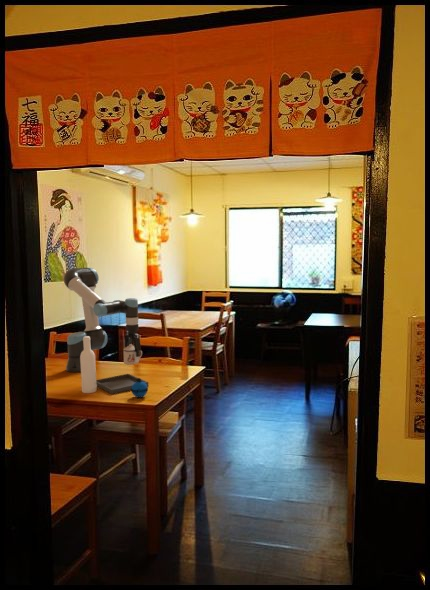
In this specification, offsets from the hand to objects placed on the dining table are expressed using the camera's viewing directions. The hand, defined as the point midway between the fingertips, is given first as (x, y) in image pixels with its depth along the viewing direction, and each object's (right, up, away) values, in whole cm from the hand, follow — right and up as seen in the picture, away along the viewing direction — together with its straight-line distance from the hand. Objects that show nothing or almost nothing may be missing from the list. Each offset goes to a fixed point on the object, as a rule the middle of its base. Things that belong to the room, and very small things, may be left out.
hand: (133, 360), depth 306 cm
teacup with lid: (0, -2, 0) cm, 2 cm away
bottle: (-18, -13, -34) cm, 40 cm away
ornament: (+11, -13, -46) cm, 49 cm away
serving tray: (-3, -11, -24) cm, 27 cm away
